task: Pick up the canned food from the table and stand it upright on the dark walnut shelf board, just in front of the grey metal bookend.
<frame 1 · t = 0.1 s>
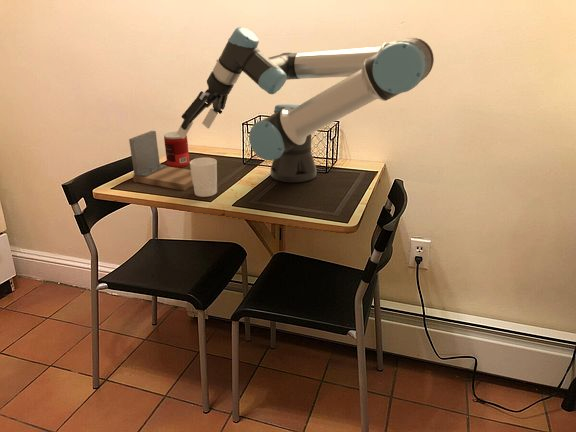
hand: (193, 130, 158), 15 cm above the table, tool tilted 35°, fingers open, 13 cm apart
bookend: (148, 176, 165), resting on shelf board
shelf board: (170, 179, 161), on the table
canned food: (178, 165, 176), on the table
white cup: (205, 193, 151), on the table
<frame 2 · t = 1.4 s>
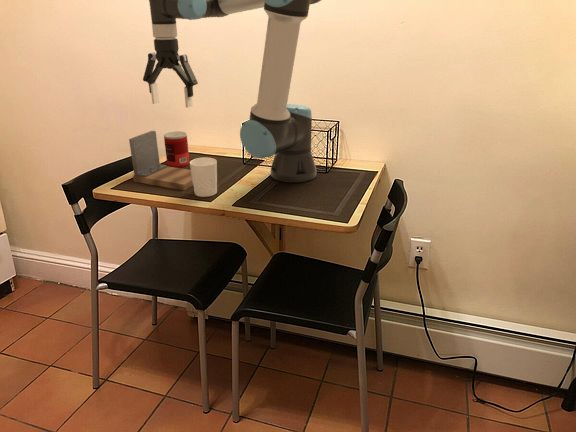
hand: (172, 105, 167), 21 cm above the table, tool pointing down, fingers open, 13 cm apart
nothing on the table moved.
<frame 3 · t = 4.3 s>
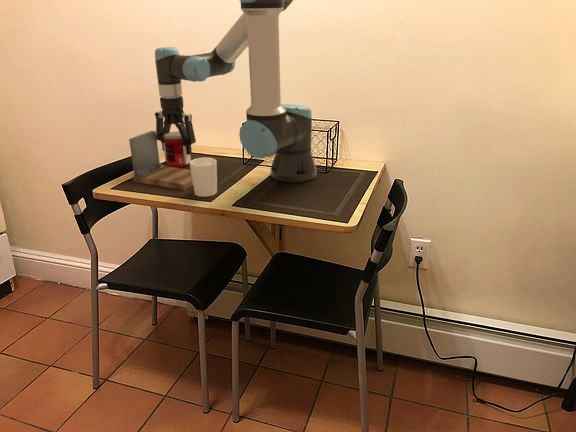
hand: (178, 161, 175), 1 cm above the table, tool pointing down, fingers closed on canned food, 8 cm apart
canned food: (178, 165, 176), on the table, touching gripper
everything else where it was.
when the fingers open (5 cm above the table, at t = 10.8 s): canned food drops 1 cm, resting on shelf board.
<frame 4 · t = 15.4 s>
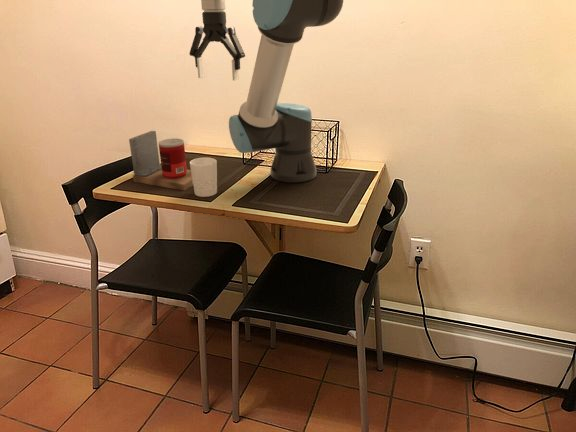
hand: (218, 78, 168), 29 cm above the table, tool pointing down, fingers open, 13 cm apart
canned food: (175, 175, 160), point 2 cm above the table, touching shelf board
everything else where it was.
at the end: canned food inside the target area (0.4 cm from its centre), point 1.8 cm above the table; canned food tilted 0°; the gripper is holding nothing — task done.
